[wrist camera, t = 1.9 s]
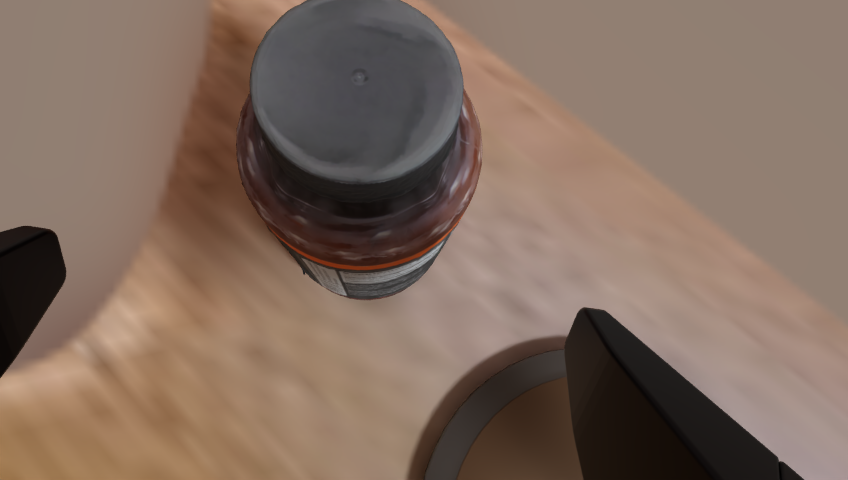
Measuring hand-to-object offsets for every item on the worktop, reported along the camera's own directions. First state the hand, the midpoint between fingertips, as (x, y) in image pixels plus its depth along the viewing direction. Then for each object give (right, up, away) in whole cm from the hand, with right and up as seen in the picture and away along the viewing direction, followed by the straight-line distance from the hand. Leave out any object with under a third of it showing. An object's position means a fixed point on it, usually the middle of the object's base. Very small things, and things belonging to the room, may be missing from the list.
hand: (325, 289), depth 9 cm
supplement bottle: (-1, +1, +12) cm, 12 cm away
